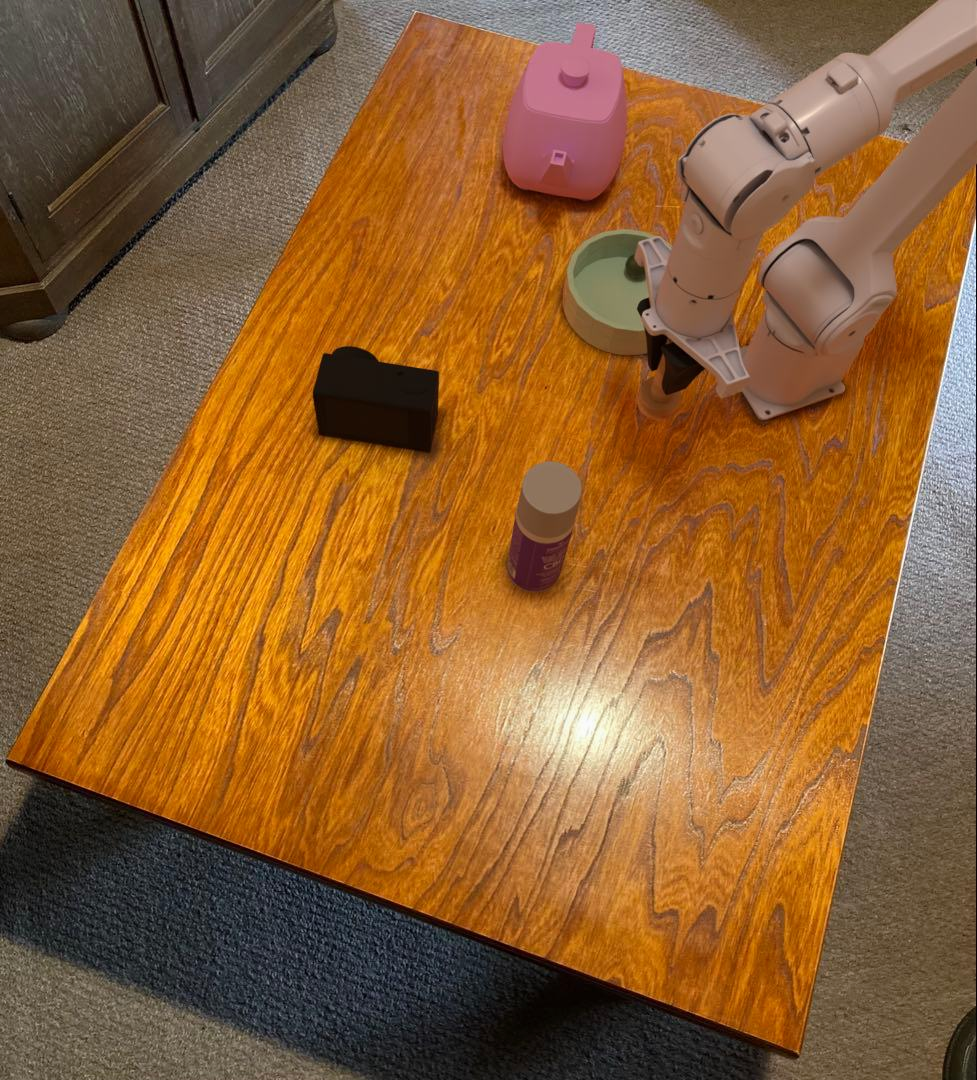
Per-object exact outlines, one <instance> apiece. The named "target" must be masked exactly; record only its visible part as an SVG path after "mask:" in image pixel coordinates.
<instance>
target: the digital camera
mask: <svg viewBox="0 0 977 1080" xmlns="http://www.w3.org/2000/svg"><path fill="white" fill-rule="evenodd" d="M439 391H440V372H439V371H438V370H434V369H428V368H421V367H415V366H409V365H402V364H397V363H390V362H384V361H380V360H379V359H378V358H377V357H376V355H374V354H373V353H371V351H368V350H366V349H364V348H362V347H358V346H351V345H344V346H340V347H337V348H336V349H334V350H333V351H332V353H327V352H324V353H322V356H321V359H320V364H319V367H318V371H317V374H316V377H315V382H314V385H313V389H312V401H313V406H314V413H315V417H316V418H315V419H316V424H317V430H318V435H319V436H323V437H324V436H325V437H332V438H336V439H337V438H338V439H344V440H350V441H356V442H363V443H369V444H375V445H381V446H386V447H387V446H388V447H394V448H400V449H406V450H413V451H419V452H423V453H424V452H425V453H431V450H432V445H433V440H434V436H435V431H436V426H437V421H438V417H439V394H440V392H439Z"/></svg>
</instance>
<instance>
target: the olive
mask: <svg viewBox="0 0 977 1080" xmlns="http://www.w3.org/2000/svg"><path fill="white" fill-rule="evenodd" d="M634 257H635V254H633V255H631V256H630V257H629V258H628V259H627V261H626V264H625V268H626V271H627V273H628V274H629V276H631V277H633V278H642V277H644V276H645V268H644V266H643V267H641V266H639V265H638V263H637V262H636V260H635V259H634Z"/></svg>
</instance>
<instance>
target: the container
mask: <svg viewBox="0 0 977 1080" xmlns="http://www.w3.org/2000/svg"><path fill="white" fill-rule="evenodd" d="M582 490H583V487H582V481H581V479H580V477H579V475H578V474H577V473H576V471H575V470H574V469H572V468H571V467H570V466H568V465H567V464H565V463H562V462H559V461H553V460H547V461H542V462H539V463H537V464H535V465H533V466H532V467H531V468H529V469H528V470H527V471H526V473H525V474H524V476H523V478H522V483H521V487H520V493H519V496H518V501H517V505H516V508H515V509H516V510H515V514H514V521H513V527H512V533H511V538H510V544H509V551H508V556H507V562H506V563H507V564H506V572H507V576H508V578H509V580H510V582H511V583H512V585H513V586H515V587H516V588H518V590H520V591H522V592H525V593H528V594H542V593H545V592H547V591H549V590H551V589H552V588H553V587H554V586H555V585H556V584H557V582H558V581H559V579H560V576H561V572H562V570H563V566H564V562H565V558H566V555H567V552H568V549H569V544H570V542H571V538H572V535H573V531H574V527H575V524H576V519H577V515H578V510H579V506H580V501H581V497H582V493H583V492H582Z"/></svg>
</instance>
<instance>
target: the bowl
mask: <svg viewBox="0 0 977 1080" xmlns="http://www.w3.org/2000/svg"><path fill="white" fill-rule="evenodd" d="M656 236H657V235H655V234H652V233H650V232H648V231H644V230H636V229H630V228H629V229H628V228H620V229H613V230H605V231H602V232H599V233H598V234H595V235H593V236H591V237H589V238H587V239H585V240H584V241H583V242H581V244H580V245H579V246H578V247H577V248H576V249H575V250H574V251H573V253H572V254H571V256H570V260H569V262H568V266H567V267H566V272H565V277H564V283H563V288H562V310H563V312H564V316H565V318H566V320H567V322H568V324H569V326H570V327H571V329H572V330H573V331H574V332H575V334H576V335H577V336H579V337H580V338H581V339H582V340H583V341H584V342H586V343H587V344H589V345H591V346H593V348H596V349H598V350H601V351H603V352H606V353H610V354H614V355H620V356H642V355H646V354H647V341H646V334H645V329H644V325H643V323H642V321H641V317H640V315H639V313H638V311H637V307H638V304H639V302H640V301H641V300H643V299H645V298H648V297H649V294H648V287H647V281H646V275H645V276H644V277H642V278H633V277H631V276H629V274H628V273H627V271H626V268H625V264H626V261H627V259H628V258H629V257H630V256H631V255H633V254H635V253H636V249H637V246H638V242H639V241H643V240H646V239H649V238H653V237H656ZM663 240H664V241H665V243H666V244H667V245H668V246H669V247H670V248H671V249H672V246H673V244H671V243H670V242H668V241H667V240H666V239H664V238H663Z"/></svg>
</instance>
